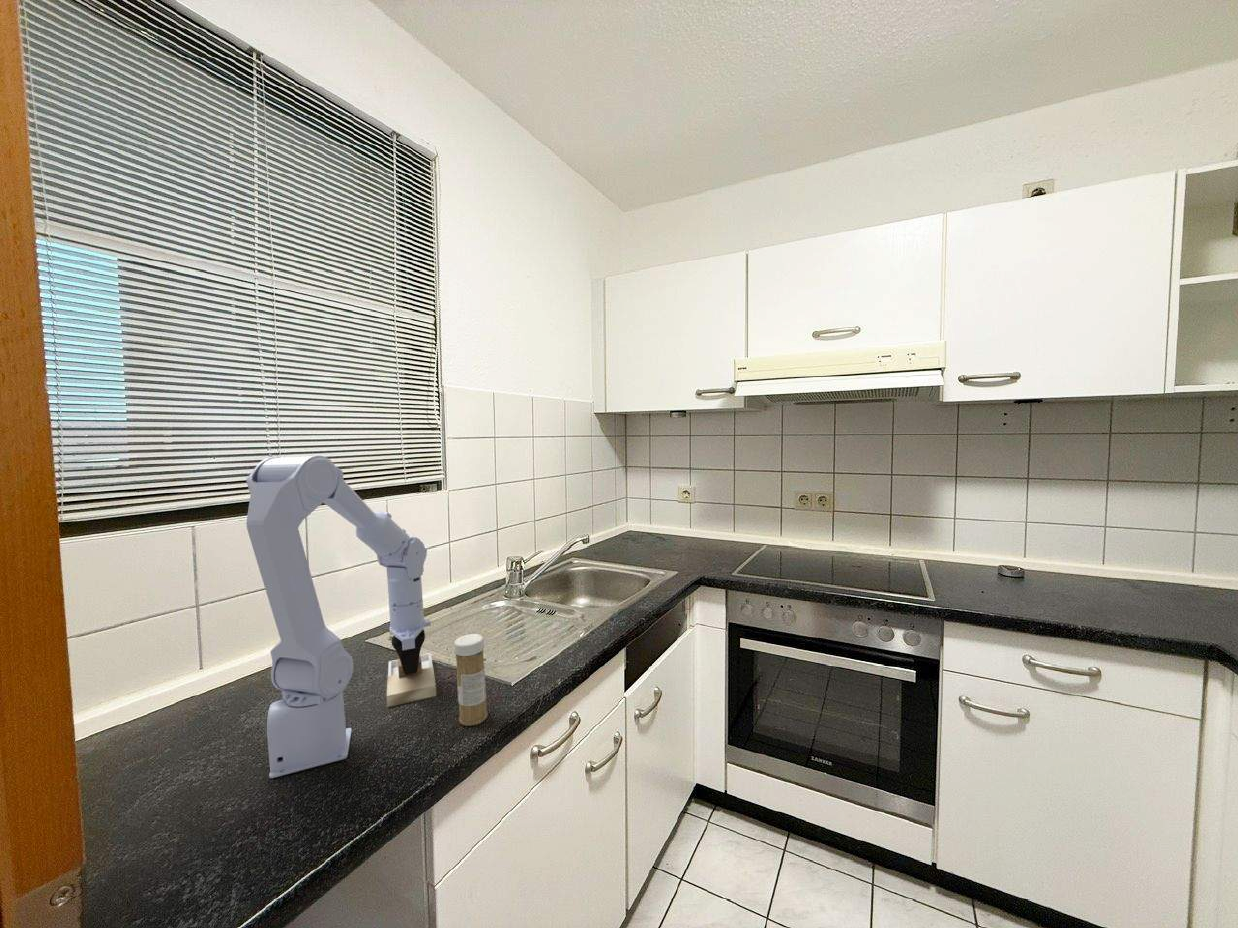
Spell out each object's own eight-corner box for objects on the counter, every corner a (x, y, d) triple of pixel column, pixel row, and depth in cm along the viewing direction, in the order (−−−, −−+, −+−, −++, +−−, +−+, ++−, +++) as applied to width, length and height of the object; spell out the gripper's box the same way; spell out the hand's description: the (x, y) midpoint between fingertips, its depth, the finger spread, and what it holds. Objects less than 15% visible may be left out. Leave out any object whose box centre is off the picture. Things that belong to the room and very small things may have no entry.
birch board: (387, 707, 85) (386, 695, 85) (388, 686, 93) (387, 676, 93) (436, 695, 89) (435, 684, 88) (433, 676, 96) (433, 666, 96)
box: (388, 685, 93) (387, 678, 93) (389, 668, 100) (388, 661, 100) (433, 675, 96) (433, 668, 96) (431, 659, 103) (430, 652, 103)
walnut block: (398, 677, 92) (398, 666, 92) (398, 670, 95) (397, 659, 95) (422, 672, 93) (421, 661, 93) (420, 665, 97) (420, 655, 97)
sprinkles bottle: (462, 712, 83) (457, 634, 82) (490, 710, 83) (485, 631, 82) (456, 728, 78) (450, 645, 77) (485, 725, 78) (480, 643, 78)
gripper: (431, 609, 86) (436, 684, 87) (427, 587, 99) (431, 653, 100) (386, 616, 83) (392, 694, 84) (388, 593, 97) (393, 660, 97)
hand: (410, 672), depth 92 cm, fingers closed
